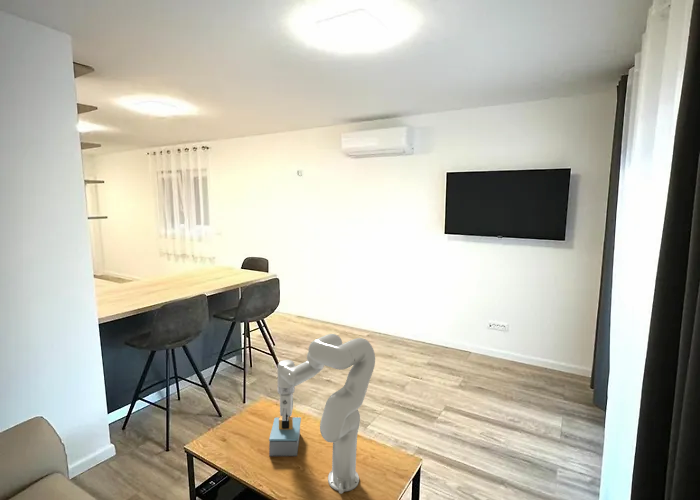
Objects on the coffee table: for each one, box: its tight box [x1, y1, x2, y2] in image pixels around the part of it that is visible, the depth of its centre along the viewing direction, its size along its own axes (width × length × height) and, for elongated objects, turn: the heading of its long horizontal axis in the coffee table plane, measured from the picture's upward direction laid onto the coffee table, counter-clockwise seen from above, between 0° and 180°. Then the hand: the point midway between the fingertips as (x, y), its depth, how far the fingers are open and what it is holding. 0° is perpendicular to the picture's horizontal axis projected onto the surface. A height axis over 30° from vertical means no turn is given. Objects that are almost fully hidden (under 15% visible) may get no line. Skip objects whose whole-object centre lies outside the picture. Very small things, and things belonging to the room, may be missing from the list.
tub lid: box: [268, 416, 302, 442], centre depth 172 cm, size 16×12×6 cm
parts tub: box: [268, 429, 301, 457], centre depth 173 cm, size 16×12×7 cm
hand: (285, 426), depth 172 cm, fingers closed on tub lid
